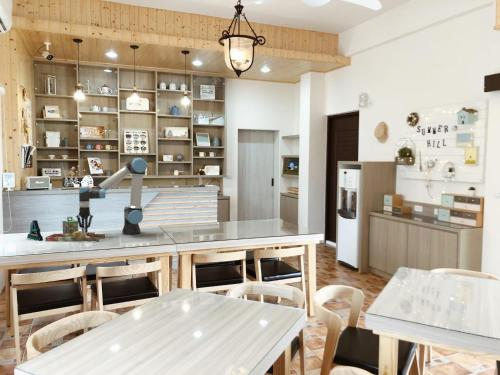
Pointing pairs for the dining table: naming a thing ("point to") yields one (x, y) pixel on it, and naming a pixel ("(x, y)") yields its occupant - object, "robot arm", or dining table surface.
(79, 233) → the ochre block
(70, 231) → the green lantern
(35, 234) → the decorative sign
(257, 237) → the dining table surface
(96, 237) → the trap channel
